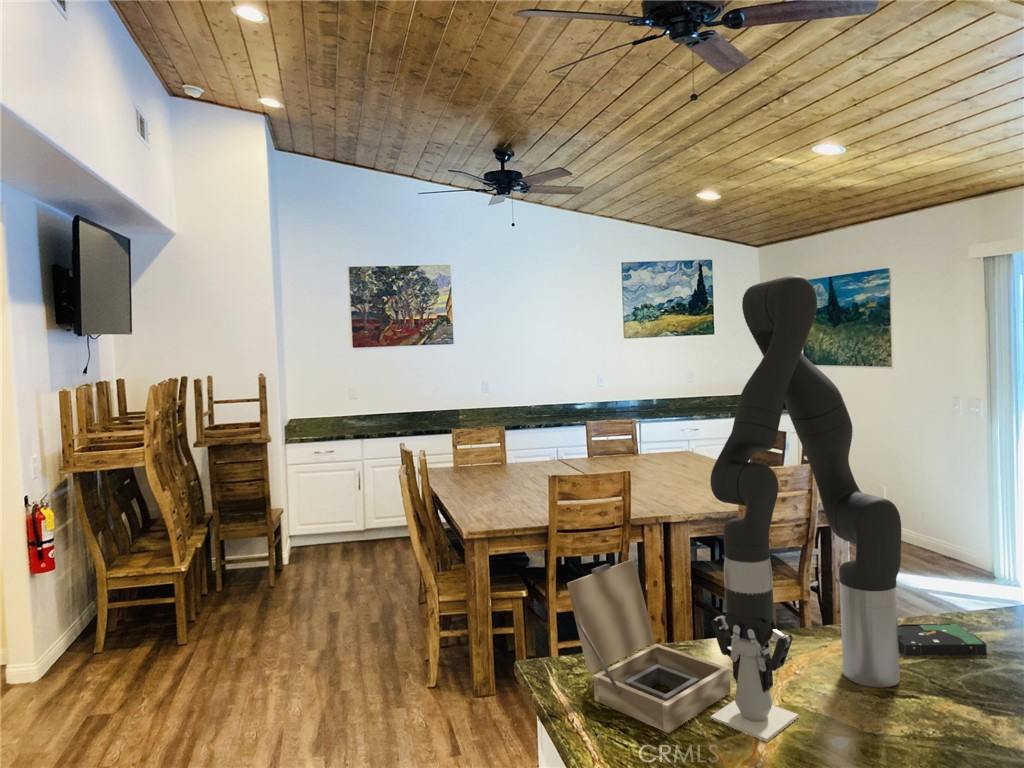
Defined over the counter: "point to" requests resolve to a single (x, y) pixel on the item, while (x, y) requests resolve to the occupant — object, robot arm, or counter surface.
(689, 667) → the case
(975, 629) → the counter surface
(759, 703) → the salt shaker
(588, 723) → the counter surface
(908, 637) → the disk drive
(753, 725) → the tile
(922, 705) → the counter surface
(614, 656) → the lid
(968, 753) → the counter surface
